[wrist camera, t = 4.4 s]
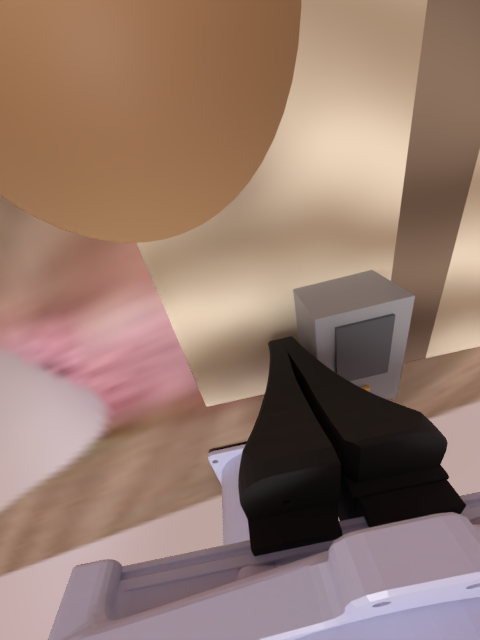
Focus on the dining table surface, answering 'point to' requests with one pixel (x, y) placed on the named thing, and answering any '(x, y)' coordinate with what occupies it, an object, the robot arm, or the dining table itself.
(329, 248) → the board
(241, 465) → the robot arm
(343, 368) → the box
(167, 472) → the dining table surface
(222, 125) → the brown cylinder
